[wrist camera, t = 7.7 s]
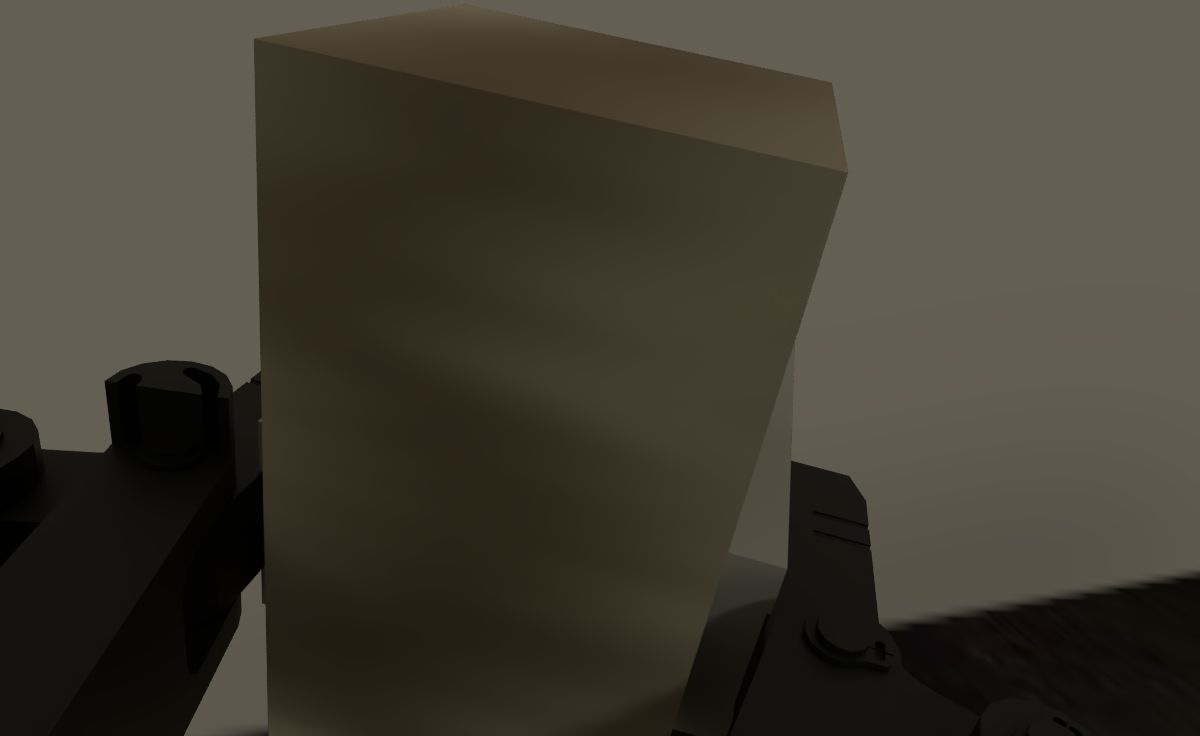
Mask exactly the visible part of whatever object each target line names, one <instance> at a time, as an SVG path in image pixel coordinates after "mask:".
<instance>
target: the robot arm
mask: <svg viewBox="0 0 1200 736" xmlns="http://www.w3.org/2000/svg"><path fill="white" fill-rule="evenodd" d="M794 352H795V342H794V346H793V349H792V352H791V355H790V358H789V361H788V365H787V368H786V371H785V374H784V377H783V380H782V384H781V387H780V390H779V393H778V396H777V399H776V403H775V406H774V409H773V412H772V415H771V418H770V422H769V425H768V428H767V431H766V434H765V437H764V441H763V444H762V447H761V450H760V453H759V456H758V460H757V463H756V466H755V469H754V472H753V475H752V479H751V482H750V485H749V488H748V491H747V494H746V498H745V501H744V504H743V507H742V510H741V513H740V517H739V520H738V523H737V526H736V529H735V532H734V536H733V539H732V542H731V545H730V548H729V552H728V555H727V558H726V561H725V564H724V567H723V571H722V574H721V577H720V580H719V583H718V586H717V590H716V593H715V596H714V599H713V602H712V605H711V609H710V612H709V615H708V618H707V621H706V624H705V628H704V631H703V634H702V637H701V640H700V643H699V647H698V650H697V653H696V656H695V659H694V662H693V666H692V669H691V672H690V675H689V678H688V681H687V685H686V688H685V691H684V694H683V697H682V700H681V704H680V707H679V710H678V713H677V716H676V719H675V723H674V726H673V729H676V730H679V731H682V732H686V733H689V734H692V735H696V736H727V734H728V732H729V729H730V726H731V723H732V721H733V723H732V731H731V734H730V736H1093V735H1092V734H1091V733H1090V732H1089V731H1088V730H1087V729H1085V728H1084V727H1082V726H1081V725H1079V724H1078V723H1076V722H1075V721H1074V720H1072V719H1071V718H1069V717H1068V716H1066V715H1065V714H1063V713H1062V712H1060V711H1057V710H1055V709H1052V708H1050V707H1048V706H1045V705H1043V704H1040V703H1038V702H1035V701H1031V700H1023V699H1015V698H1007V699H1003V700H1000V701H996V702H993V703H991V704H990V705H989V706H988V707H987V709H986V710H985V711H984V712H983V714H982V715H981V716H978V715H976V714H974V713H973V712H971V711H969V710H967V709H965V708H963V707H961V706H960V705H958V704H956V703H954V702H952V701H950V700H949V699H947V698H945V697H943V696H941V695H939V694H938V693H936V692H934V691H933V690H931V689H930V688H928V687H927V686H925V685H923V684H922V683H920V682H919V681H918V680H917V679H915V678H914V677H913V676H912V675H911V674H910V673H908V672H907V671H906V670H905V669H904V668H903V667H902V658H901V652H900V650H899V648H898V646H897V645H896V643H895V641H894V640H893V638H892V636H891V634H890V633H889V632H888V631H887V630H886V629H885V628H884V627H883V626H882V625H880V624H879V620H878V611H877V601H876V592H875V583H874V574H873V563H872V554H871V550H870V546H871V544H870V535H869V530H868V516H867V506H866V500H865V499H864V497H863V496H862V495H861V493H860V492H859V490H858V489H857V487H856V486H855V484H854V483H853V481H852V480H851V478H850V477H849V476H847V475H843V474H839V473H836V472H832V471H828V470H824V469H820V468H816V467H813V466H809V465H805V464H801V463H797V462H794V461H791V443H792V413H793V383H794ZM105 388H106V397H107V405H108V413H109V422H110V430H111V438H112V444H111V445H110V447H109V448H108V449H107V450H106V451H105V452H104V453H94V452H77V451H60V450H45V449H41V445H40V439H39V434H38V430H37V428H36V426H35V424H34V422H33V421H32V419H30V418H28V417H26V416H24V415H22V414H20V413H18V412H16V411H10V410H4V409H0V736H184V734H185V732H186V730H187V728H188V726H189V724H190V722H191V720H192V718H193V716H194V714H195V712H196V710H197V708H198V706H199V704H200V702H201V700H202V698H203V696H204V694H205V692H206V690H207V688H208V686H209V684H210V682H211V680H212V678H213V676H214V674H215V672H216V670H217V668H218V666H219V664H220V662H221V660H222V658H223V656H224V654H225V652H226V649H227V647H228V646H229V644H230V641H231V640H232V638H233V636H234V633H235V632H236V629H237V627H238V625H239V620H240V616H241V592H242V591H243V590H244V589H245V587H246V586H247V585H248V584H249V583H250V582H251V581H252V580H253V578H254V577H255V576H256V575H257V574H258V573H259V572H260V570H261V574H262V603H263V604H266V596H265V548H264V500H263V451H262V403H261V371H260V372H259V373H258V374H257V375H255V376H254V377H253V378H251V381H250V383H248V382H246V383H245V384H244V385H242V386H241V387H240V388H238V389H237V390H236V391H235V392H233V387H232V385H231V383H230V381H229V379H228V377H227V376H226V375H225V374H224V373H222V372H220V371H219V370H217V369H215V368H214V367H211V366H208V365H204V364H200V363H196V362H191V361H190V362H189V361H170V360H167V361H159V362H151V363H144V364H140V365H137V366H134V367H131V368H127V369H124V370H121V371H119V372H118V373H116V374H115V375H113V376H112V377H110V378H109V379H107V380H106V381H105Z"/></svg>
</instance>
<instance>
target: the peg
mask: <svg viewBox="0 0 1200 736" xmlns="http://www.w3.org/2000/svg"><path fill="white" fill-rule="evenodd" d="M254 59H255V60H254V65H255V113H256V161H257V207H258V209H257V210H258V257H259V303H260V304H259V306H260V355H261V403H262V451H263V500H264V548H265V596H266V644H267V692H268V736H670V735H671V732H672V729H673V726H674V723H675V719H676V716H677V713H678V710H679V707H680V704H681V700H682V697H683V694H684V691H685V688H686V685H687V681H688V678H689V675H690V672H691V669H692V666H693V662H694V659H695V656H696V653H697V650H698V647H699V643H700V640H701V637H702V634H703V631H704V628H705V624H706V621H707V618H708V615H709V612H710V609H711V605H712V602H713V599H714V596H715V593H716V590H717V586H718V583H719V580H720V577H721V574H722V571H723V567H724V564H725V561H726V558H727V555H728V552H729V548H730V545H731V542H732V539H733V536H734V532H735V529H736V526H737V523H738V520H739V517H740V513H741V510H742V507H743V504H744V501H745V498H746V494H747V491H748V488H749V485H750V482H751V479H752V475H753V472H754V469H755V466H756V463H757V460H758V456H759V453H760V450H761V447H762V444H763V441H764V437H765V434H766V431H767V428H768V425H769V422H770V418H771V415H772V412H773V409H774V406H775V403H776V399H777V396H778V393H779V390H780V387H781V384H782V380H783V377H784V374H785V371H786V368H787V365H788V361H789V358H790V355H791V352H792V349H793V346H794V342H795V339H796V336H797V333H798V330H799V327H800V323H801V320H802V317H803V314H804V311H805V308H806V304H807V301H808V298H809V295H810V292H811V289H812V285H813V282H814V279H815V276H816V272H817V269H818V266H819V263H820V260H821V257H822V254H823V250H824V247H825V244H826V241H827V238H828V235H829V231H830V228H831V225H832V222H833V219H834V216H835V213H836V209H837V206H838V203H839V200H840V197H841V194H842V190H843V187H844V184H845V181H846V178H847V174H848V169H847V163H846V158H845V152H844V147H843V142H842V136H841V130H840V125H839V119H838V114H837V109H836V103H835V97H834V92H833V87H832V83H831V82H826V81H821V80H816V79H812V78H807V77H803V76H798V75H793V74H789V73H784V72H779V71H774V70H770V69H765V68H761V67H756V66H751V65H746V64H742V63H737V62H732V61H728V60H723V59H718V58H714V57H709V56H704V55H699V54H695V53H690V52H685V51H681V50H676V49H671V48H667V47H662V46H657V45H653V44H648V43H644V42H639V41H634V40H629V39H625V38H620V37H615V36H611V35H606V34H601V33H597V32H592V31H587V30H583V29H578V28H573V27H568V26H564V25H559V24H554V23H550V22H545V21H541V20H535V19H531V18H526V17H522V16H517V15H512V14H507V13H503V12H498V11H494V10H489V9H484V8H480V7H475V6H470V5H466V4H465V5H458V6H453V7H446V8H440V9H434V10H428V11H422V12H416V13H409V14H403V15H397V16H391V17H385V18H379V19H372V20H366V21H360V22H354V23H348V24H341V25H336V26H329V27H323V28H318V29H311V30H305V31H298V32H293V33H287V34H280V35H274V36H268V37H261V38H256V39H254Z"/></svg>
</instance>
